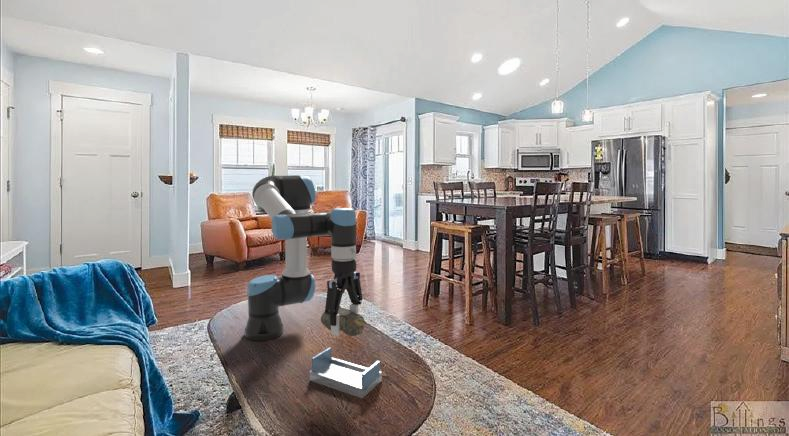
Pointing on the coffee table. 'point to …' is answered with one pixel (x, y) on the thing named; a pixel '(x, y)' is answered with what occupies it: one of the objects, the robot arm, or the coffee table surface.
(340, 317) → the rock
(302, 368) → the coffee table surface
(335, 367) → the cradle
